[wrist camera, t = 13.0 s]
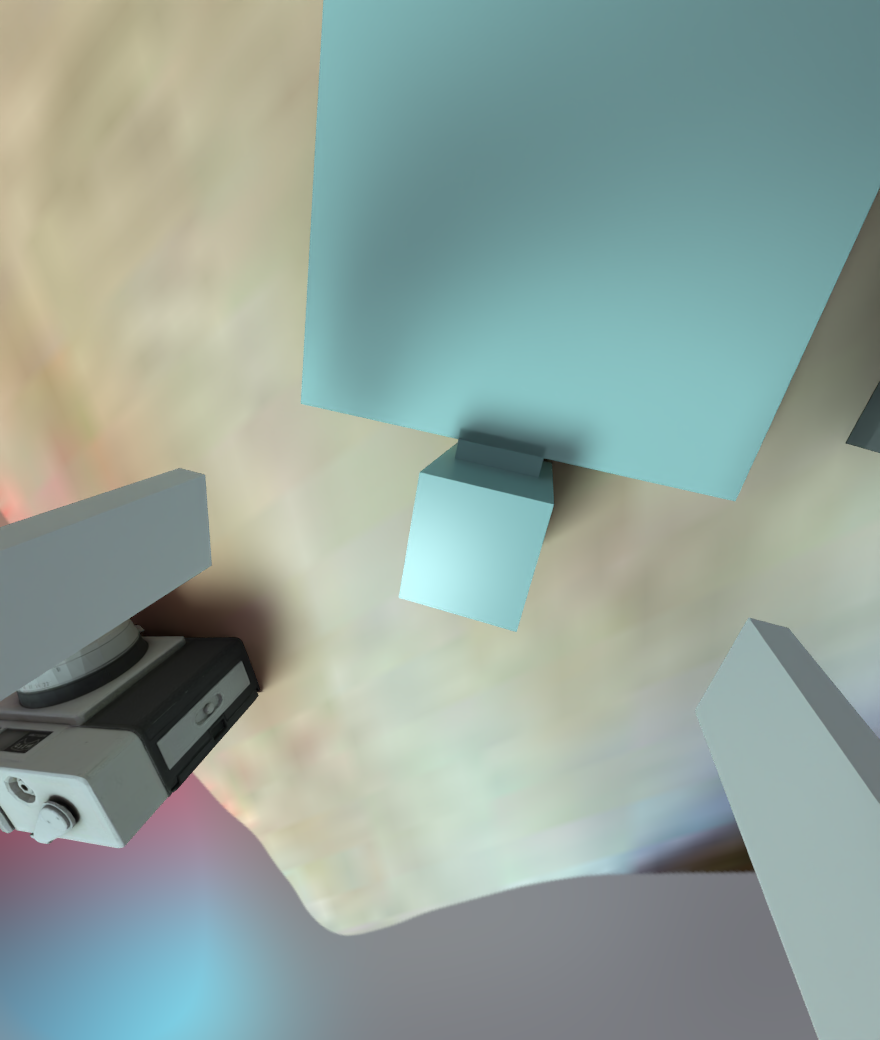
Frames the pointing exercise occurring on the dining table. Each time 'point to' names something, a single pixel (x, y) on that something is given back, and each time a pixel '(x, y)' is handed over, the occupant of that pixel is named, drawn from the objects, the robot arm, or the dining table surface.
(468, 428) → the lid
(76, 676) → the camera
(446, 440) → the dining table surface
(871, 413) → the tub
